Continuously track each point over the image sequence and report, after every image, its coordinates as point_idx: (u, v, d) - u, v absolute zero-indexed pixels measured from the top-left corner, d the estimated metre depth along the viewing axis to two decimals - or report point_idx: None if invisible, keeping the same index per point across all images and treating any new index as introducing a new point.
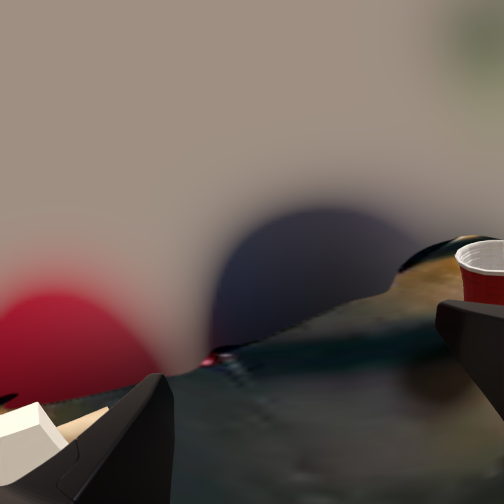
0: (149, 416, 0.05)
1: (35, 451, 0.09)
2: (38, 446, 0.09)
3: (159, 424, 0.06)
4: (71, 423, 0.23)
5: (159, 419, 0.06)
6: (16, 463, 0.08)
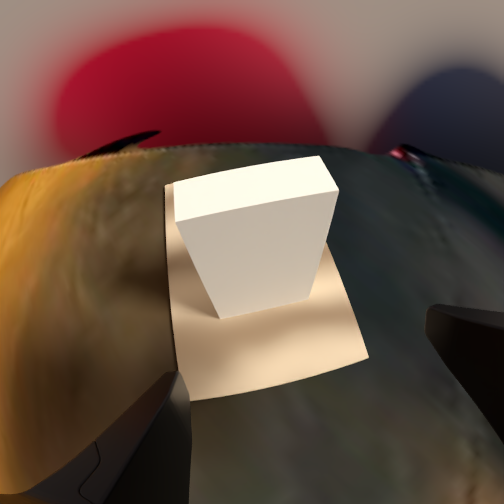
0: (168, 415, 0.05)
1: (299, 222, 0.13)
2: (310, 216, 0.13)
3: (178, 423, 0.06)
4: None
5: (178, 418, 0.06)
6: (256, 236, 0.13)
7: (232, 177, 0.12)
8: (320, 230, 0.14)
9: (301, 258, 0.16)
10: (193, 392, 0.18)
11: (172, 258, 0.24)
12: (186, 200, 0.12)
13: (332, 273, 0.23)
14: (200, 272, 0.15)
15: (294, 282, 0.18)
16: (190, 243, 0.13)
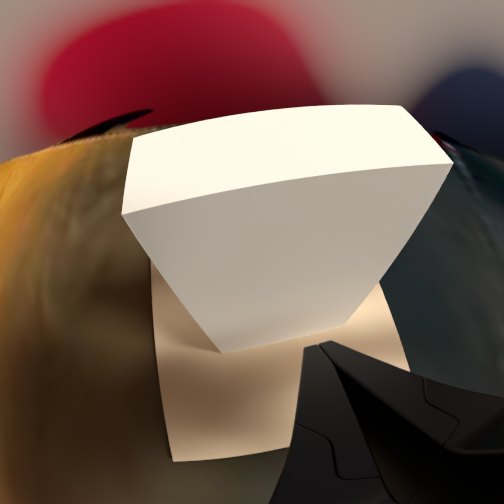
0: None
1: (378, 219, 0.06)
2: (397, 209, 0.06)
3: None
4: None
5: None
6: (295, 246, 0.07)
7: (251, 124, 0.06)
8: (400, 235, 0.07)
9: (356, 278, 0.09)
10: (186, 451, 0.12)
11: None
12: (152, 168, 0.05)
13: (374, 289, 0.16)
14: (188, 304, 0.08)
15: (334, 309, 0.12)
16: (163, 259, 0.06)
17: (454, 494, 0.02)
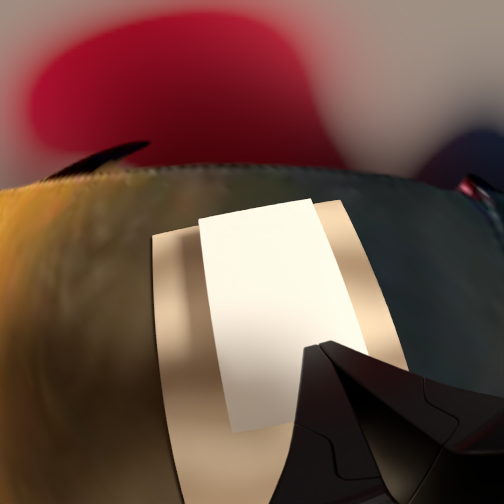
0: None
1: (292, 225, 0.16)
2: (299, 219, 0.16)
3: None
4: None
5: None
6: (258, 237, 0.16)
7: None
8: (317, 235, 0.16)
9: (317, 276, 0.14)
10: None
11: (168, 371, 0.14)
12: None
13: None
14: (209, 283, 0.15)
15: (332, 331, 0.13)
16: (205, 240, 0.16)
17: (454, 494, 0.02)
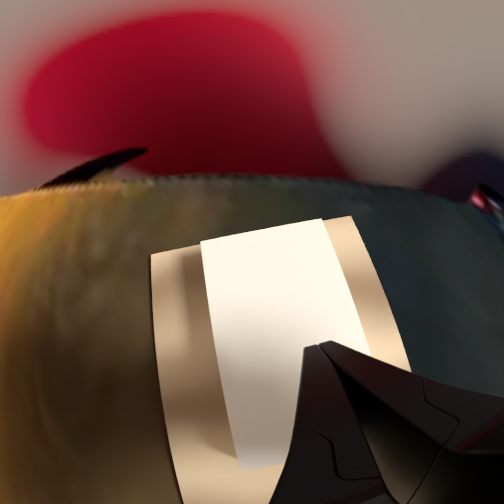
0: None
1: (303, 249, 0.15)
2: (310, 242, 0.15)
3: None
4: None
5: None
6: (266, 263, 0.15)
7: None
8: (329, 261, 0.14)
9: (330, 306, 0.13)
10: None
11: (170, 403, 0.13)
12: None
13: None
14: (213, 315, 0.13)
15: None
16: (208, 266, 0.15)
17: (454, 494, 0.02)
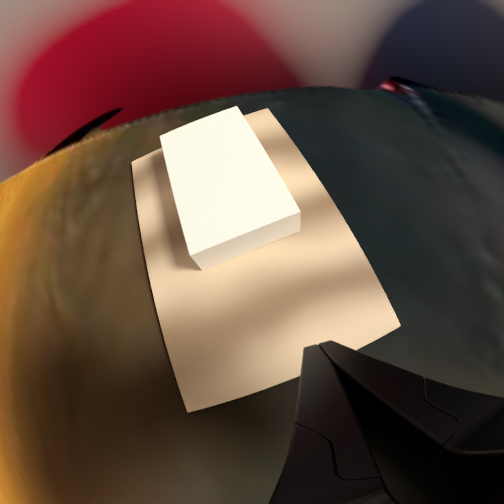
0: None
1: (224, 123, 0.21)
2: (228, 119, 0.21)
3: None
4: None
5: None
6: (200, 135, 0.21)
7: None
8: (242, 125, 0.21)
9: (242, 146, 0.19)
10: (197, 400, 0.15)
11: (148, 242, 0.20)
12: None
13: (341, 228, 0.18)
14: (168, 168, 0.20)
15: (255, 175, 0.18)
16: (165, 146, 0.21)
17: (454, 494, 0.02)
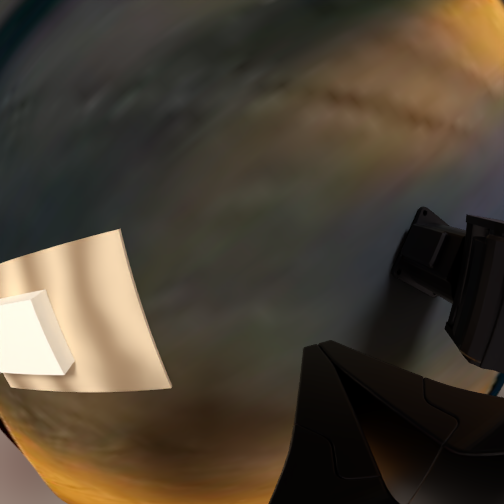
0: None
1: None
2: None
3: None
4: None
5: None
6: None
7: None
8: None
9: None
10: (161, 381, 0.22)
11: (62, 387, 0.21)
12: None
13: (44, 256, 0.18)
14: (12, 372, 0.18)
15: (10, 319, 0.16)
16: None
17: (454, 494, 0.02)
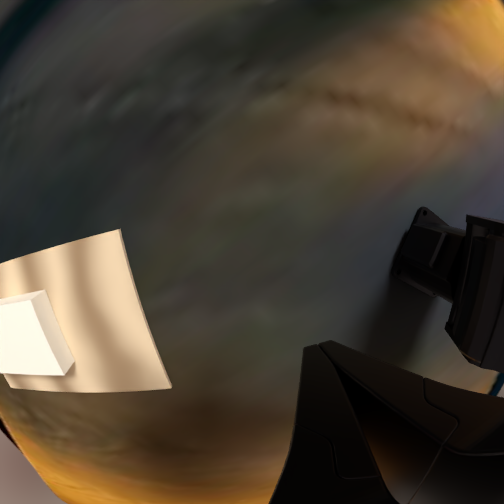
0: None
1: None
2: None
3: None
4: None
5: None
6: None
7: None
8: None
9: None
10: (161, 381, 0.22)
11: (62, 388, 0.21)
12: None
13: (43, 256, 0.18)
14: (12, 372, 0.18)
15: (10, 320, 0.16)
16: None
17: (454, 494, 0.02)
